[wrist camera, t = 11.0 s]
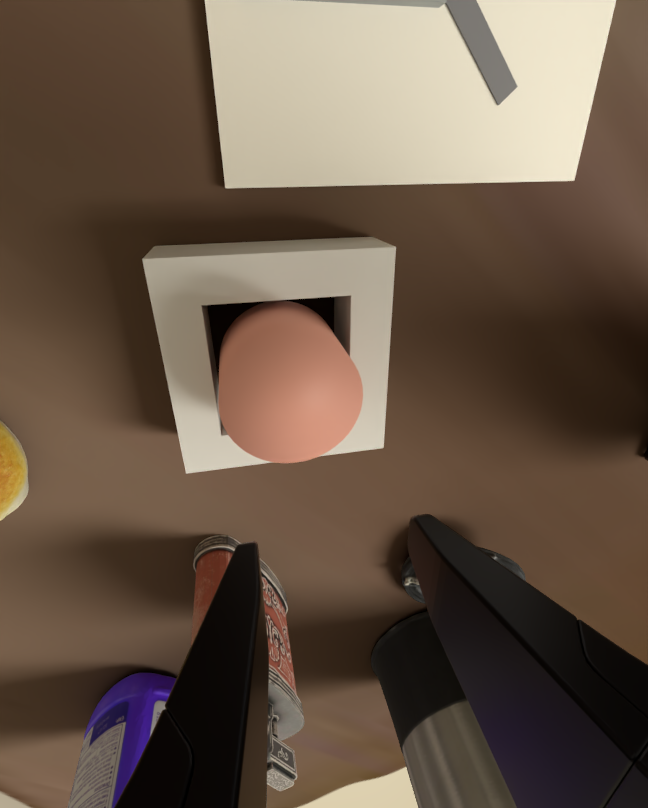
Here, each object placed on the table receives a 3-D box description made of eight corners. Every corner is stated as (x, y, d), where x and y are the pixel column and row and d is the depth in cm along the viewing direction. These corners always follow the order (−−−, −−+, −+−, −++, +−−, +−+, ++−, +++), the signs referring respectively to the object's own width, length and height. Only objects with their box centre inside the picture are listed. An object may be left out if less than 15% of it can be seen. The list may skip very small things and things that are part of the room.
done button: (336, 296, 18) (365, 327, 14) (336, 404, 20) (361, 454, 17) (211, 305, 17) (208, 340, 13) (227, 416, 19) (227, 471, 16)
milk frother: (402, 693, 37) (497, 968, 24) (293, 615, 29) (347, 956, 17) (546, 607, 35) (731, 854, 22) (470, 498, 28) (683, 781, 15)
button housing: (372, 236, 19) (395, 246, 16) (365, 416, 23) (383, 447, 20) (154, 245, 17) (142, 259, 15) (190, 437, 21) (186, 473, 19)
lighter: (179, 552, 25) (156, 756, 16) (230, 525, 25) (234, 716, 16) (253, 621, 29) (265, 814, 20) (297, 598, 29) (329, 783, 20)
